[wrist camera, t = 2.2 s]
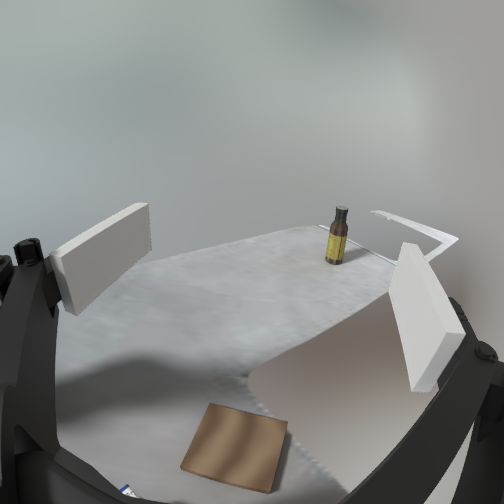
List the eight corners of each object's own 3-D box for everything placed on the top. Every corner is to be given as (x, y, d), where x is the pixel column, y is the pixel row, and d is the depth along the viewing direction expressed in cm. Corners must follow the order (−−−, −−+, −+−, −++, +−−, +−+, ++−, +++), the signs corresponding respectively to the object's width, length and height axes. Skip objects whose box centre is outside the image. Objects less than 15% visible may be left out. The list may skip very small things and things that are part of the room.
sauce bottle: (338, 256, 105) (348, 205, 96) (344, 265, 100) (355, 211, 91) (321, 256, 104) (331, 203, 96) (327, 265, 99) (338, 210, 90)
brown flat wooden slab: (181, 469, 35) (180, 466, 35) (210, 407, 48) (210, 402, 47) (268, 493, 33) (270, 491, 32) (286, 425, 45) (287, 421, 44)
